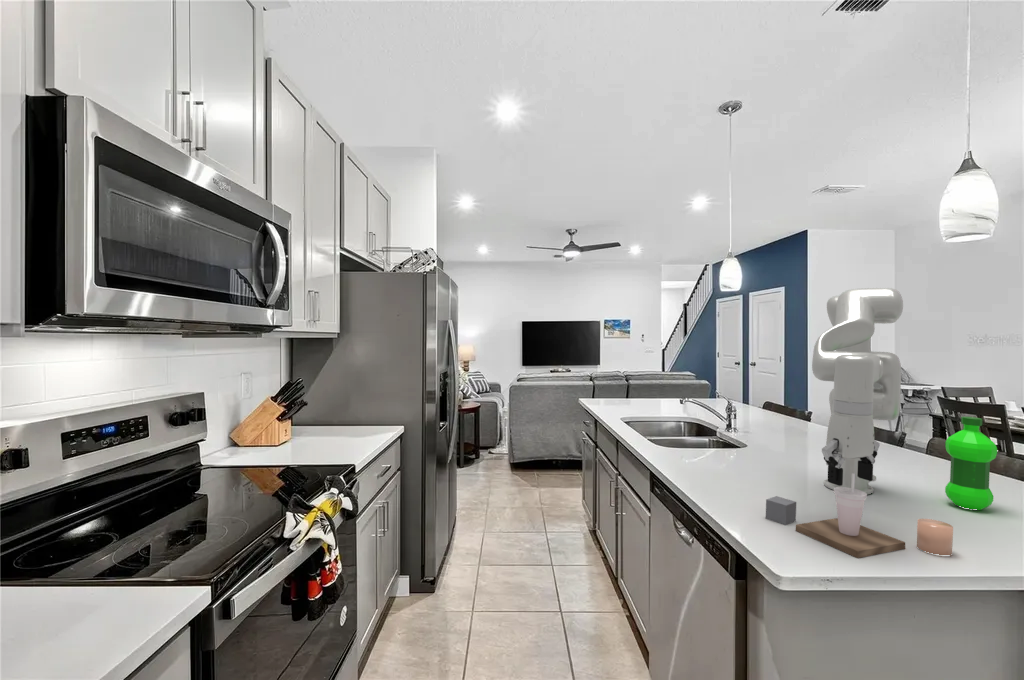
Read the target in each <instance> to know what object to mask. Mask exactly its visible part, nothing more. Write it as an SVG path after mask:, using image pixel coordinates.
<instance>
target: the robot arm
mask: <svg viewBox="0 0 1024 680" xmlns="http://www.w3.org/2000/svg"><path fill="white" fill-rule="evenodd" d="M903 309H904V300H903V296H902V294H901V293H900V291H898V290H897V289H896V288H892V287H879V288H878V287H876V288H874V287H873V288H869V287H868V288H851V289H848V290H845V291H843V292H842V293H841V294H839V295H835V296H832V297H829V298H828V300H827V302H826V312H827V317H828V319H829V321H830V324H831V327H829V328H828V329H826V330H825V331H824V332H822V334H821V335H820V336H819V337H818V338H817V340H815V344H814V346H813V351H812V352H813V353H812V361H811V369H812V370H811V371H812V374H813V375H814V377H815V378H816V379H817V380H820V381H823V382H833V388H832V389H831V390H830V392H829V396H828V402H829V407H830V410H829V411H830V416H829V421H828V425H827V433H826V443H825V445H824V446H823V447H822V448H821V453H822V455H823V460H824V461H825V464H826V466H827V478H826V479H825V480H824V481H823V485H824V486H825V487H826V488H828V489H830V490H833V491H834V488H836V487H847V488H851V484H852V473H855V482H854V489H858V490H861V491H863V492H865V493H866V494H867V495H872V494H874V488H873V487H872V486H870V485H869V483H870V482H875V481H877V475H875V474H874V464H875V462H876V457H877V456H878V450H879V448H880V443H879V442H878V441H876V440H875V426H874V420H876V421H888V422H889V421H894V420H896V419H897V418H898V417H899V416H900V411H901V391H902V390H901V389H902V382H901V381H902V365H901V360H900V358H899V356H898V355H897V354H895V353H894V352H889V351H888V352H887V351H874V350H873V351H872V350H871V338H872V337H873V336H874V335H875V328H876V327H875V324H883V325H884V324H887V325H888V324H893V323H896V322H897V321H898V320H899V319H900V318H901V315H902V314H903ZM875 384H877V385H880V386H881V387H875V386H874V385H875ZM871 493H872V494H871Z"/></svg>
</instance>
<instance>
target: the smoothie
mask: <svg viewBox="0 0 1024 680" xmlns="http://www.w3.org/2000/svg"><path fill="white" fill-rule="evenodd" d="M854 482H855V473H852V484H851V488H847V487H836V488H834V490H833V494H834V495H835V503H836V513H837V518H838V524H839V531H840V532H841V533H843V534H846V535H850V536H857V535H858V534H859V529H860V525H861V522H862V517H863V513H864V512H863V511H864V506H865V502H866V499H868V497H867V496H868V494H866V493H865V492H863V491H861V490H858V489H854Z"/></svg>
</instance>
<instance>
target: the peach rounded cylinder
mask: <svg viewBox="0 0 1024 680" xmlns="http://www.w3.org/2000/svg"><path fill="white" fill-rule="evenodd" d="M916 527H917V528H916V529H917V530H916V548H917V547H918V548H919V549H921V550H923V551H926V552H929V553H933V554H939V555H951V554H952V555H953V545H954V543H953V541H954V540H953V539H954V526H953V525H951V524H950V523H947V522H944V521H940V520H937V519H932V518H918V519H917V526H916ZM918 548H917V549H918ZM919 549H918V550H919ZM921 550H920V551H921ZM923 551H922V552H923Z"/></svg>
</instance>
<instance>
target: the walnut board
mask: <svg viewBox="0 0 1024 680" xmlns="http://www.w3.org/2000/svg"><path fill="white" fill-rule="evenodd" d="M795 532H798V533H800V534H802V535H804V536H807V537H809V538H811V539H813V540H814V541H817V542H820V543H823V544H825V545H827V546H829V547H832V548H833V549H836V550H839V551H840V552H843V553H845V554H847V555H849V556H852V557H853V558H856V559H859V558H860V559H861V558H867V557H871V556H876V555H881V554H887V553H891V552H896V551H900V550H905V549H906V542H905V541H904V540H901V539H898V538H895V537H893V536H889V535H888V534H885V533H883V532H879V531H877V530H874V529H872V528H869V527H866V526H863V525H861V524H860V529H859V534H858V535H857V536H850V535H846V534H843V533H841V532H840V531H839V524H838V517H835V518H834V517H833V518H830V519H822V520H816V521H810V522H803V523H796V524H795Z"/></svg>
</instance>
